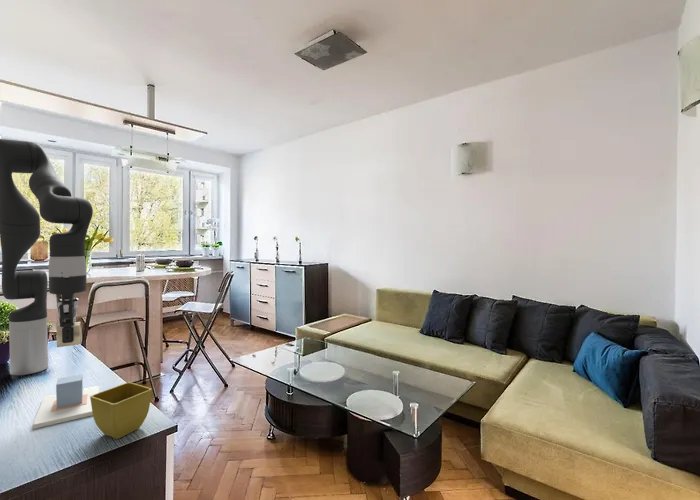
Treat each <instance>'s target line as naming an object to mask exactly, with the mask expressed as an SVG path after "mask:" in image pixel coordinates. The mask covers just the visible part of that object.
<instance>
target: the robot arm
mask: <svg viewBox="0 0 700 500" xmlns="http://www.w3.org/2000/svg"><path fill="white" fill-rule="evenodd" d="M14 173H15V174H31V175H30V176H29V179H28V187H29V189H30V191H31V193H32V194H33V195H34V197H35V198H36V199H37V200H38V206H39V208H38V209H39V212H38V210H37V209H36V207H35V206H34V205H33V204H31V202H30V201H29V200H28V199H27V198H26V197H25V196H24V195H23V194H22V192H20V190H19V189H18V188H17V186H16V184H15V182H14V179H13V174H14ZM93 209H94V208H93V206H92V204H91V202H90V201H89V200H88V199H86V198H83V197H78V196H77V197H76V196H72V193H71V191H70V189H69V187H67V186H66V184H65V183H64V182H63V181H62V180H61V179H60V177H59V176H58V175H57V173H56V170H55V168H54V166H53V164H52V162H51V161H50V158H49V155H47V153H46V150H45V149H44V148H43V146H41V144H39V143H37V142H33V141H28V140H27V141H25V140H15V139H7V138H5V139H4V138H0V249H1V292H2V295H3V297H4V299H6V300H11V301H12V300H13V301H14V300H25V299H26V300H27V299H34V300H33V302H31V303H30V304H28V305H26V306H23V307H20V308H18V309H14V310H12V311H10V312H9V314H8V330H9V331H8V333H9V335H8V337H9V375H10V376H25V375H30V374H35V373H39V372H42V371H45V370H47V369H48V368H49V356H48V355H49V353H48V352H49V349H48V347H49V346H48V308H47V306H48V305H47V304H48V303H47V301H48V293H49V294H51V295H61V299H58V301H57V308H58V319H59V324H60V327H61V328H62V342H63V343H70V342H73V341H74V326H75V324H74V322H77V317H78V316H77V315H78V313H79V312H78V306H79V298H77V297H76V296H75V294H79V293H84V292H86V291H87V284H88V283H87V262H86V257H85V256H86V254H85V253H86V250H85V249H86V248H85V247H86V244H85V243H86V238H87V233H88V229H89V226H90V223H91V222H92V219H93V218H92V217H93V216H94V215H93V214H94V210H93ZM41 219H43V220H44V221H46V222H47V223H52V224H62V225H63V224H65V225H66V224H67V225H72V226H71V227H70V229H69V230H68V231H66V232H58V233H53V234H51V235H50V237H49V243H48V244H49V260H48V261H49V262H48V275H47V273H46V271H45V270H41V269H39V270H38V269H37V270H36V269H35V270H32V269H31V270H16V269H17V266H18V264H19V263H20V261H21V260H22V259H23V257H24V255H26V253H27V252H28V251H29V250H30V249H31V248H32V246H34V244H35V243H36V242H37V241H38V240H39V238H40V236H41Z"/></svg>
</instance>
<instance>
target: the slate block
mask: <svg viewBox="0 0 700 500" xmlns="http://www.w3.org/2000/svg"><path fill="white" fill-rule="evenodd" d="M83 383H84V382H83V373H81V374H76V375H69V376H64V377H60V378H57V381H56V384H55V387H56V388H55V389H56V390H55V391H56V393H55V394H56V402H57V408H62V407H66V406H71V405H76V404H80V403H82V398H83Z"/></svg>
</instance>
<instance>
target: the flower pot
mask: <svg viewBox="0 0 700 500" xmlns="http://www.w3.org/2000/svg"><path fill="white" fill-rule="evenodd" d="M152 392H153V388H151V387H148V386H144V385H141V384H137V383H134V382H130V381H129V382H125V383H122V384H120V385H117V386H114V387H111V388H108V389H105V390H102V391H101V392H100V391H99V393H97V394H94V395H92V396H90V399H91V406H92V412H93V415H92V416H93V421H94V422H95V425H96V426H97V428H98V429H99V430H100V431H101V433H103V434H104V435H106V436H108V437H111V438H112V439H116V440H117V439H120V438H123V437H125V436H126V435H129V434H131V433H133V432H134V431H137V430H138V429H140V428H141V426H142V425H143V423H144V422H145V420H146V419H147V416H148V413H149V411H150V405H151V400H152V399H151V398H152Z"/></svg>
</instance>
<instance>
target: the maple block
mask: <svg viewBox="0 0 700 500" xmlns="http://www.w3.org/2000/svg"><path fill="white" fill-rule="evenodd" d="M74 324H75V326H74V341H73V342H70V343H63V342H62V328H61V327H60V323H58V324H57V326H56V348H63V347H70V346H78V345H81V341H82V340H81V339H82V338H81V337H82V335H81V333H82V331H81V327H82V326H81V324H82V323H81V321H76V322H74Z"/></svg>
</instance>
